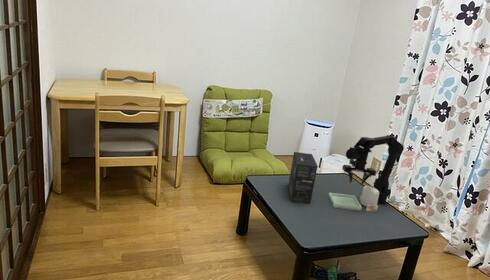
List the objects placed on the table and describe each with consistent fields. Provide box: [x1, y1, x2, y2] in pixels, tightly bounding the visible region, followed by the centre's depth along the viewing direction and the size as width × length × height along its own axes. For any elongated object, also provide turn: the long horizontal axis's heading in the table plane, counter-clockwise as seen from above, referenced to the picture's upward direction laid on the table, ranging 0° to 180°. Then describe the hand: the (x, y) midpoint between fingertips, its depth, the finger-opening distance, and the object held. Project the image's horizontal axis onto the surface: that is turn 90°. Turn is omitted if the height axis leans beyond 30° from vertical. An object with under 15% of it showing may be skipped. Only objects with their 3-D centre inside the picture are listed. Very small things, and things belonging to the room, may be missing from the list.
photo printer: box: [359, 185, 379, 207], centre depth 227 cm, size 10×4×12 cm, turn 36°
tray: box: [328, 192, 363, 211], centre depth 227 cm, size 16×16×2 cm
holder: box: [358, 194, 379, 213], centre depth 228 cm, size 6×14×4 cm, turn 0°
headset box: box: [288, 151, 319, 204], centre depth 228 cm, size 22×12×26 cm, turn 179°
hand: (355, 183), depth 224 cm, fingers open, 7 cm apart
